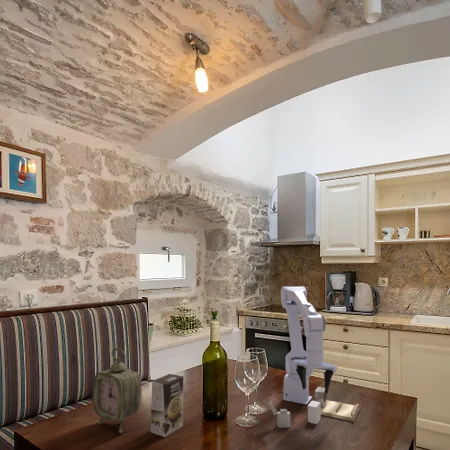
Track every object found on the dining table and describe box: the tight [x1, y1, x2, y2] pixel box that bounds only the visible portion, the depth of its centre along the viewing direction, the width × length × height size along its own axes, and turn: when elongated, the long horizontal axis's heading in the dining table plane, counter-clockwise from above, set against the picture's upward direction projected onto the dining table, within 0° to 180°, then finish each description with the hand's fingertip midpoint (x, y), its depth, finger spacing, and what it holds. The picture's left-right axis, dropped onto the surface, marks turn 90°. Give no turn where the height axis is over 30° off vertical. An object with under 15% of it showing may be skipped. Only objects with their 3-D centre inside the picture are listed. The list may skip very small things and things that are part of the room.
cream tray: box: [314, 386, 360, 422], centre depth 132 cm, size 14×11×7 cm
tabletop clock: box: [92, 347, 142, 434], centre depth 122 cm, size 14×9×25 cm, turn 55°
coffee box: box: [150, 373, 184, 438], centre depth 119 cm, size 9×6×16 cm
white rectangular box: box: [306, 400, 322, 425], centre depth 125 cm, size 3×5×6 cm, turn 151°
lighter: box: [268, 400, 291, 428], centre depth 121 cm, size 7×2×8 cm, turn 93°
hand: (315, 390), depth 126 cm, fingers open, 7 cm apart
